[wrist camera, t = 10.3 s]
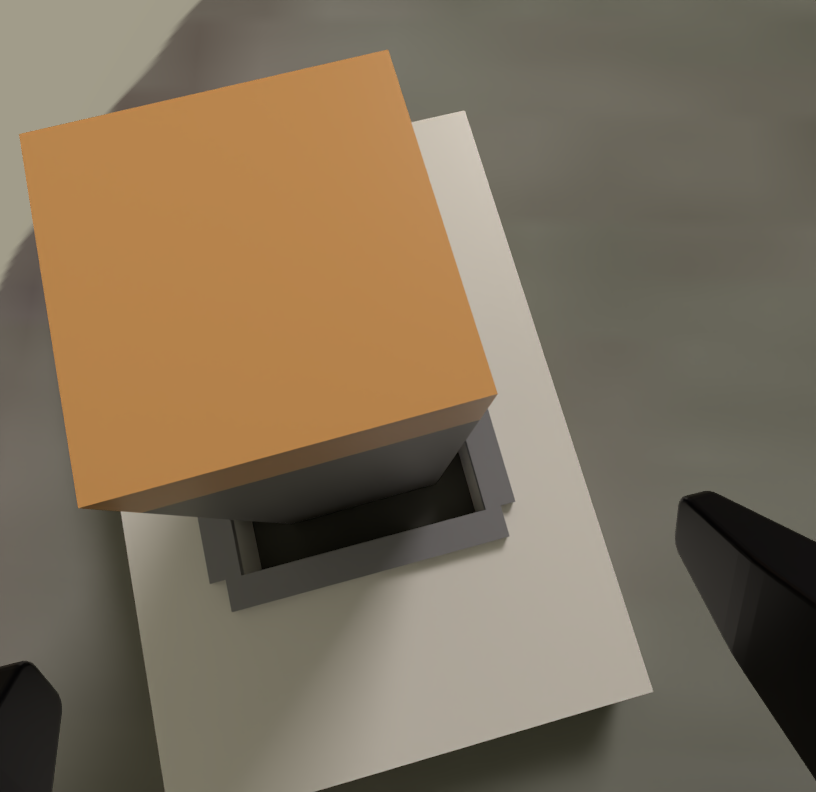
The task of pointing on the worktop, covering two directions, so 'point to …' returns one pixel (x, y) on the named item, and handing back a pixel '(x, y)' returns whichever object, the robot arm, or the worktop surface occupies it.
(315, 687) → the socket plate
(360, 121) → the plug
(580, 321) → the worktop surface
